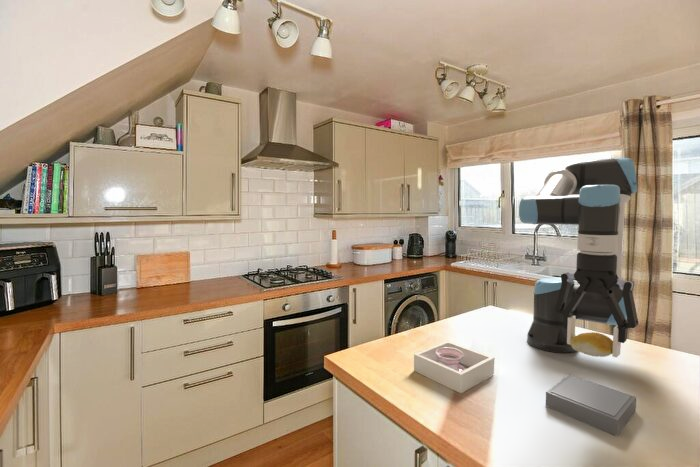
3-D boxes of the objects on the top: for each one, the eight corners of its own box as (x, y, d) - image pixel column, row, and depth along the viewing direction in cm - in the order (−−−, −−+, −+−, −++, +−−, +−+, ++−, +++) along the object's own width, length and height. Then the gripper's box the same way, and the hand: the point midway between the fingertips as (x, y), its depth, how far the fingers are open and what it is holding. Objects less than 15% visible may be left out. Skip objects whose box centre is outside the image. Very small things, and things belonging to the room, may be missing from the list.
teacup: (464, 387, 91) (464, 365, 91) (421, 376, 98) (421, 355, 97) (474, 369, 101) (475, 349, 101) (435, 360, 108) (435, 341, 107)
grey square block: (545, 406, 82) (546, 391, 82) (568, 387, 91) (569, 373, 91) (617, 436, 71) (617, 419, 71) (635, 411, 80) (636, 396, 79)
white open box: (413, 370, 101) (413, 354, 100) (447, 356, 111) (447, 340, 110) (460, 393, 88) (461, 374, 88) (493, 374, 98) (494, 357, 98)
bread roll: (621, 351, 79) (622, 334, 79) (604, 361, 74) (605, 343, 74) (581, 340, 86) (582, 324, 86) (563, 348, 81) (564, 331, 81)
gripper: (540, 249, 84) (537, 339, 86) (653, 259, 68) (647, 370, 69) (553, 247, 89) (550, 332, 91) (661, 256, 72) (656, 359, 74)
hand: (592, 348), depth 80 cm, fingers closed on bread roll, 8 cm apart
